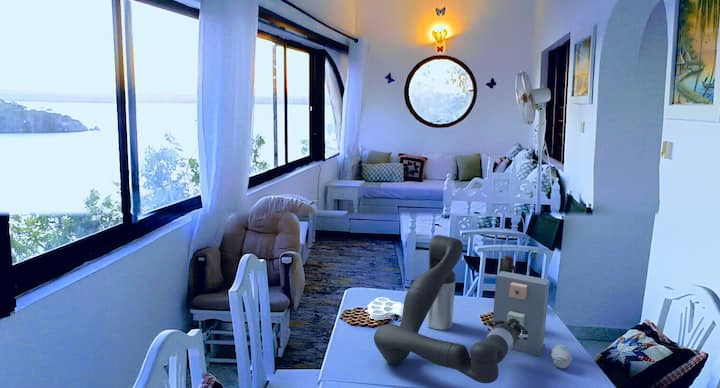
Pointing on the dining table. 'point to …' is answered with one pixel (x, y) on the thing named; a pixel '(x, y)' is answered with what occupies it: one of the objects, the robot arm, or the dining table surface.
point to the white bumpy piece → (384, 309)
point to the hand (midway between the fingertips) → (514, 321)
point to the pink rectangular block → (518, 290)
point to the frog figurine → (561, 356)
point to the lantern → (508, 263)
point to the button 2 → (516, 317)
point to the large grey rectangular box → (524, 308)
